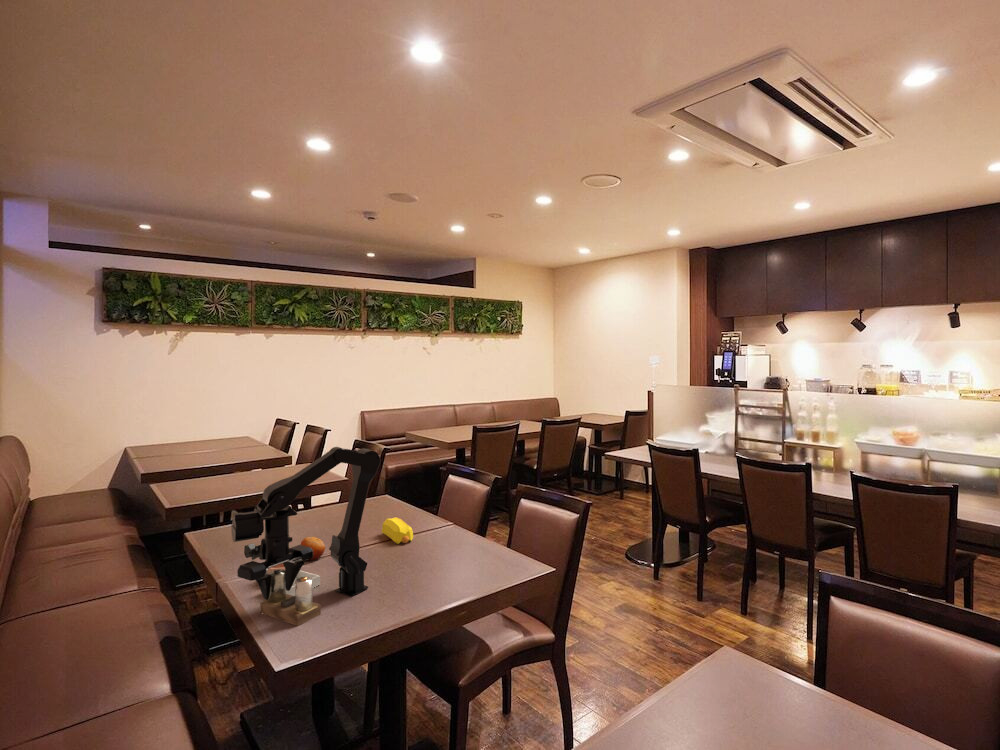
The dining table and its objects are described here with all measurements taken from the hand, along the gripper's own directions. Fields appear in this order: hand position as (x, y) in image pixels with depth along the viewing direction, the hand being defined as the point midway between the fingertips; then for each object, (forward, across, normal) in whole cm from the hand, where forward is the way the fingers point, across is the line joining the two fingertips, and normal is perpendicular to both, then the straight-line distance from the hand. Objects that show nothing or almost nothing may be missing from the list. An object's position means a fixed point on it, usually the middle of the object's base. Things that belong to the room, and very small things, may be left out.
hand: (277, 594), depth 137 cm
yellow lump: (+4, -60, -12) cm, 61 cm away
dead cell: (+1, 0, 0) cm, 1 cm away
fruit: (+4, -30, -22) cm, 37 cm away
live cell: (+1, 0, +10) cm, 10 cm away
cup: (+4, -13, -16) cm, 21 cm away
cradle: (+4, 0, +5) cm, 6 cm away
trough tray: (+4, -10, -7) cm, 13 cm away
